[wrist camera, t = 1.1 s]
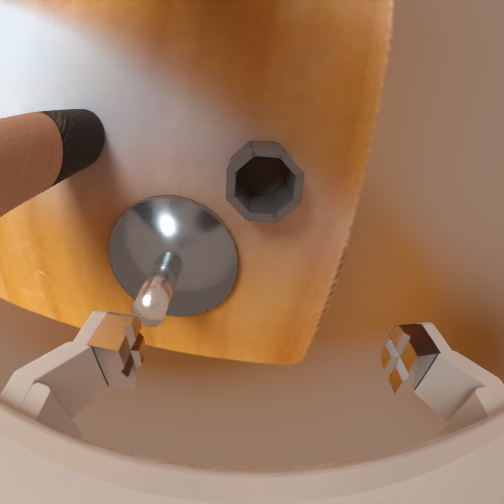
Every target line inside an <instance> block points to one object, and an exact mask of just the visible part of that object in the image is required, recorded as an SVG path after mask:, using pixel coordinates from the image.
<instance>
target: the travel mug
mask: <svg viewBox="0 0 504 504" xmlns="http://www.w3.org/2000/svg"><path fill="white" fill-rule="evenodd" d="M103 145H104V129H103V126H102V123H101V121H100V119H99V118H98V117H97V116H96V115H95V114H94V113H93V112H91V111H89V110H85V109H69V110H53V111H41V112H33V113H27V114H22V115H16V116H12V117H7V118H2V119H0V217H1V216H3V215H4V214H6V213H7V212H9V211H11V210H12V209H14V208H15V207H17V206H19V205H21V204H22V203H24V202H26V201H27V200H29V199H31V198H33V197H35V196H36V195H38V194H40V193H42V192H44V191H45V190H47V189H49V188H50V187H52V186H54V185H56V184H57V183H59V182H61V181H62V180H64V179H66V178H68V177H69V176H71V175H73V174H75V173H77V172H79V171H80V170H82V169H84V168H86V167H88V166H89V165H91V164H92V163H93V162H94V161H95V160H96V159H97V158H98V157H99V155H100V153H101V151H102V148H103Z"/></svg>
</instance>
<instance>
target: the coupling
mask: <svg viewBox="0 0 504 504" xmlns="http://www.w3.org/2000/svg"><path fill="white" fill-rule="evenodd" d="M254 156H261V157H274V158H280V159H281V160H282V161H283V162H284V163H285V164H286V166H287V167H286V177H285V183H284V184H283V185H282V186H280V187H279V188H278V189H277V190H275V191H274V192H273V193H272V194H270V195H263V194H250V193H249V192H248V191H247V190H246V188H245V187H244V186H243V185H242V184H241V183H240V182H239V181H238V180H237V174H238V170H239V169H240V168H241V167H242V166H243V165H245V164H246V163H247V162H248V161H249V160H250V159H252V158H253V157H254ZM303 181H304V173H303V172H302V171H301V169H300V168H299V167H298V166H297V165H296V163H295V162H294V161H293V160H292V159H291V157H290V156H289V155H288V154H287V153H286V152H285V150H284V149H283V148H282V147H281V146H280V145H279V144H278V143H277V142H266V141H252V142H251V141H250V142H249V143H248V144H246V145H245V146H244V147H243V148H242V149H241V150H239V151H238V152H237V153H236V154H235V155H234V156H233V157H232V158H231V161H230V163H229V166H228V168H227V184H226V198H227V201H228V202H229V203H230V204H231V205H232V206H233V207H234V208H235V209H236V210H237V211H238V212H239V213H240V214H241V215H242V216H243V217H244V218H245V219H246V220H247V219H248V221H264V222H276V220H277V222H278V221H279V220H281V219H282V218H283V217H284V216H286V215H287V214H288V213H289V212H291V211H292V210H293V209H295V208H296V207H297V206H298V205H300V203H301V197H302V189H303Z"/></svg>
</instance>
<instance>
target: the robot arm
mask: <svg viewBox="0 0 504 504" xmlns="http://www.w3.org/2000/svg"><path fill="white" fill-rule="evenodd" d="M140 329H141V322H140V318H139V317H137V316H132V315H126V314H120V313H114V312H106V311H100V310H95V311H93V312H92V313H91V315H90V316H89V318H88V319H87V321H86V322H85V324H84V325H83V327H82V328H81V330H80V331H79V333H78V335H77V336H76V338H75V340H74V341H73V342H67V343H65V344H63V345H62V346H60V347H58V348H56V349H54V350H53V351H51V352H49V353H47V354H45V355H43V356H42V357H40V358H38V359H36V360H34V361H33V362H31V363H29V364H27V365H26V366H24V367H22V368H20V369H18V370H16V371H15V372H14V374H13V375H12V377H11V378H10V380H9V382H8V383H7V385H6V386H5V388H4V390H3V391H2V393H1V395H0V504H504V385H503V383H502V382H501V380H500V379H499V378H497V377H496V376H494V375H493V374H491V373H490V372H488V371H486V370H485V369H483V368H481V367H480V366H478V365H477V364H475V363H474V362H472V361H470V360H469V359H467V358H466V357H464V356H462V355H461V354H459V353H457V352H456V351H453V352H452V350H451V349H450V347H449V346H448V345H447V343H446V342H445V340H444V339H443V337H442V336H441V334H440V333H439V332H438V330H437V329H436V327H435V326H434V324H432V323H430V322H425V323H418V324H405V325H395V326H394V327H393V328H392V329H391V332H390V334H389V335H390V338H391V339H390V340H389V341H388V342H387V343H385V345H384V347H383V350H382V353H381V361H382V366H383V368H384V370H385V371H386V372H388V373H389V374H390V376H389V382H390V384H391V387H392V389H393V391H394V394H397V393H404V392H410V391H414V392H415V393H416V394H417V395H418V396H419V397H420V398H421V399H422V400H423V401H425V402H426V403H427V404H428V405H429V406H430V407H431V408H432V409H433V410H434V411H435V412H436V413H437V414H439V415H440V416H441V417H442V418H443V419H444V420H445V421H446V422H447V423H446V424H445V425H444V426H443V427H442V428H441V430H440V431H439V436H440V437H439V438H436V439H433V440H430V441H427V442H424V443H421V444H418V445H415V446H412V447H408V448H404V449H401V450H397V451H393V452H389V453H385V454H381V455H376V456H372V457H367V458H362V459H356V460H351V461H344V462H338V463H330V464H322V465H313V466H301V467H285V468H231V467H215V466H204V465H195V464H186V463H179V462H173V461H166V460H161V459H155V458H150V457H145V456H141V455H136V454H132V453H128V452H124V451H120V450H116V449H112V448H109V447H105V446H102V445H98V444H95V443H92V442H89V441H86V440H83V439H80V438H81V435H82V434H81V431H80V430H79V429H78V427H77V426H76V425H75V423H74V422H73V421H72V419H73V418H74V417H76V416H77V415H78V414H79V413H80V412H82V411H83V410H84V409H85V408H86V407H87V406H89V405H90V404H91V403H92V402H93V401H94V400H95V399H97V398H98V397H99V396H100V395H101V394H102V393H104V392H105V391H106V390H107V389H108V388H109V387H113V388H118V389H124V390H129V391H133V389H134V386H135V384H136V381H137V378H138V372H137V368H138V367H140V366H141V365H142V364H143V361H144V356H145V340H144V337H143V336H142V335H141V334H140V332H139V331H140Z"/></svg>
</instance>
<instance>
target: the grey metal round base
mask: <svg viewBox="0 0 504 504" xmlns="http://www.w3.org/2000/svg"><path fill="white" fill-rule="evenodd" d="M109 259H110V264H111V267H112V270H113V273H114V275H115V277H116V279H117V280H118V282H119V283H120V285H121V286H122V288H123V289H124V290H125V291H126V292H127V293H128V294H129V295H130V296H131V297H132V298H133V299H134V300H135V301H134V303H133V305H132V314H133V316H137V317H139V318H140V322H141V324H143V325H146V326H151V327H153V326H158V325H160V324H161V323H162V322H163V320H164V317H165V315H171V316H192V315H198V314H201V313H204V312H206V311H209V310H211V309H212V308H214V307H216V306H217V305H218V304H220V303H221V302H222V301H223V300H224V299H225V298H226V297H227V296H228V294H229V293H230V291H231V290H232V287H233V285H234V283H235V279H236V276H237V268H238V255H237V249H236V245H235V242H234V239H233V237H232V235H231V233H230V231H229V230H228V228H227V227H226V225H225V224H224V223H223V221H222V220H221V219H220V218H219V217H218V216H217V215H216V214H215V213H213V212H212V211H211V210H210V209H208V208H207V207H205V206H204V205H202V204H200V203H198V202H196V201H193V200H191V199H188V198H184V197H180V196H172V195H161V196H155V197H150V198H147V199H144V200H142V201H140V202H138V203H136V204H135V205H133V206H132V207H131V208H129V209H128V210H127V211H126V212H125V213H124V214H123V215H122V216H121V217H120V218H119V220H118V221H117V223H116V224H115V226H114V228H113V230H112V233H111V236H110V240H109Z"/></svg>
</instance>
